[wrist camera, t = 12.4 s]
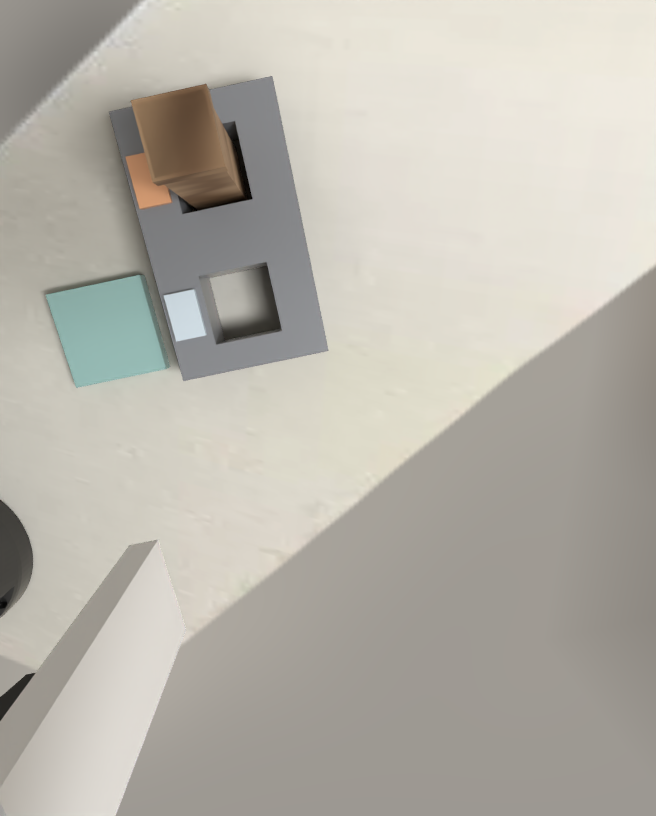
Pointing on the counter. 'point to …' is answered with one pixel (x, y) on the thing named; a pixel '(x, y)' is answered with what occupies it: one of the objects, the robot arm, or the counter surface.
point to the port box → (228, 240)
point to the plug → (189, 147)
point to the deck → (108, 330)
